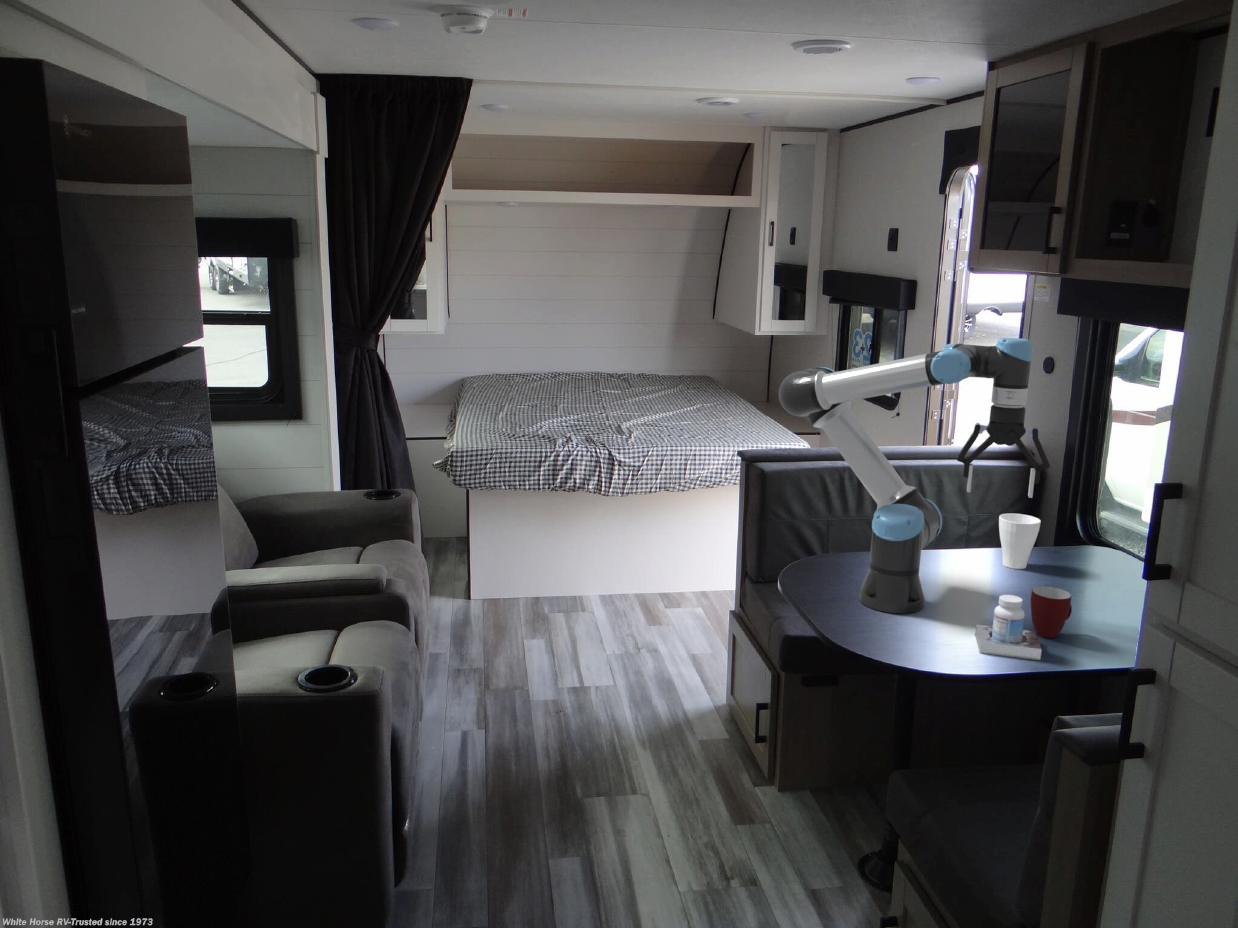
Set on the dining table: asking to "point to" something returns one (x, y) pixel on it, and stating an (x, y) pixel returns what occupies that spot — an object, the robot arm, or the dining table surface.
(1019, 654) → the block
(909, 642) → the dining table surface
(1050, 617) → the mug
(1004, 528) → the cup
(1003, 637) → the pill bottle
